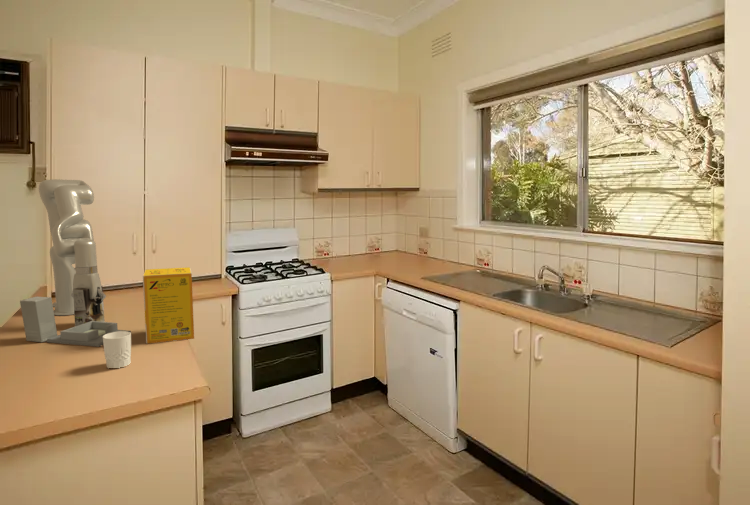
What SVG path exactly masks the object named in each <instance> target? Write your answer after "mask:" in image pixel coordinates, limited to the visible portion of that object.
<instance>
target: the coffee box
mask: <svg viewBox="0 0 750 505" xmlns="http://www.w3.org/2000/svg"><path fill="white" fill-rule="evenodd" d="M101 288H102V292H103V293H104V289H103V285H101ZM98 295H99V294H98ZM96 297H97V295H96ZM73 299H74V314H73V316H74V327H75V326H78V325H81V324H84V323H87V322H90V321H98V322H106V321H105V308H104V300H103V301H102V303H101V304H100V309H101V313H100V314H97V315H94V314H93V305H94V303H93V299H90V295H89V289H85V288H80V289H79V288H76V289H73ZM96 301H97V299H96Z"/></svg>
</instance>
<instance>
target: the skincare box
mask: <svg viewBox="0 0 750 505" xmlns="http://www.w3.org/2000/svg"><path fill="white" fill-rule="evenodd" d="M19 304H20V309H21V316H22V322H23V328H24V334H25V341H27V342H34V343H35V342H37V343H43V342H44V343H45V342H47V339H49V338H52V337H55V336H58V331H57V326H56V318H55V315H54V307H53V305H52V304H53V299H52V296H51V297H48V296H33V297H29V298H25V299H20V300H19Z"/></svg>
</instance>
